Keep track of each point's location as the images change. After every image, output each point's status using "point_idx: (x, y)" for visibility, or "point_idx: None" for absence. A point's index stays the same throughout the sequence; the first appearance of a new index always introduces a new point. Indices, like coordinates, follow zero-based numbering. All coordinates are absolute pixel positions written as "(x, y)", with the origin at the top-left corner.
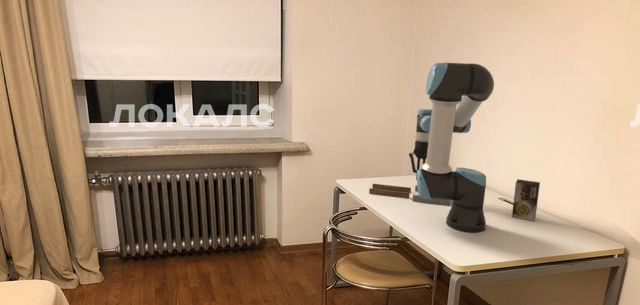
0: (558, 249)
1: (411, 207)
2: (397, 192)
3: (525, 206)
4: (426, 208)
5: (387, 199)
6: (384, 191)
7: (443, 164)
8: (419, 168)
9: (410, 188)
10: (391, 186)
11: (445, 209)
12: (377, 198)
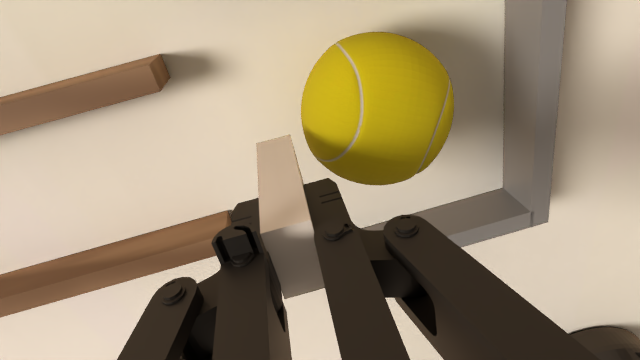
0: None
1: (318, 352)
2: (134, 276)
3: None
4: (395, 318)
5: (128, 332)
6: (26, 304)
7: None
8: (271, 317)
9: (157, 90)
10: None
11: (495, 272)
12: (62, 354)
